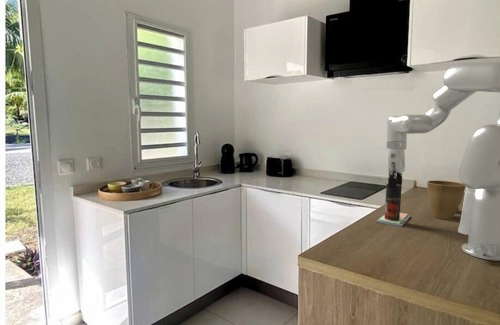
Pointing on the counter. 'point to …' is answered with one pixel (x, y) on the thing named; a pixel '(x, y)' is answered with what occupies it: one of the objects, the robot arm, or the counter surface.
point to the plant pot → (445, 198)
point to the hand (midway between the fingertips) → (395, 186)
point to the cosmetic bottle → (466, 212)
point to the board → (399, 223)
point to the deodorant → (393, 203)
